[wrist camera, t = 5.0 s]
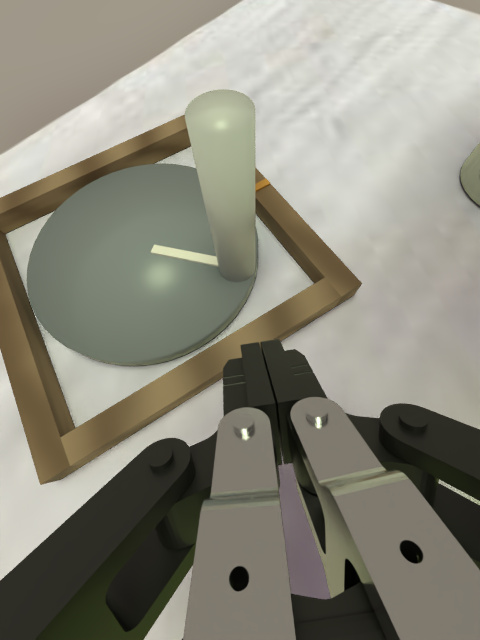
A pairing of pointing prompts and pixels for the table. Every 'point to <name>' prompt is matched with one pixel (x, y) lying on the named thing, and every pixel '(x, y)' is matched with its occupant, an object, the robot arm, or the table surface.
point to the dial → (155, 247)
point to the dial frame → (183, 381)
